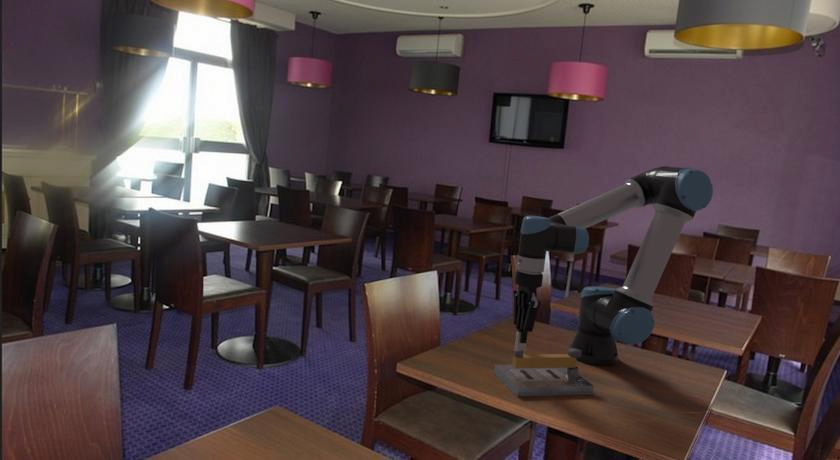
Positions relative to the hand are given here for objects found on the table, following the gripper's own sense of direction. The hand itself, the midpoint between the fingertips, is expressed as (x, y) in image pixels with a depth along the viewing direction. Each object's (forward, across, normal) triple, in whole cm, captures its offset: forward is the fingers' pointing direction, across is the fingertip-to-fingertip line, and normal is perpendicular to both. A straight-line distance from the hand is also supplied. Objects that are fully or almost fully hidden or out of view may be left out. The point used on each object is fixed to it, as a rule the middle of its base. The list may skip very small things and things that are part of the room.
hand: (519, 352), depth 170 cm
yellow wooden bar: (+1, +7, +5) cm, 9 cm away
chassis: (+6, +7, +4) cm, 10 cm away
